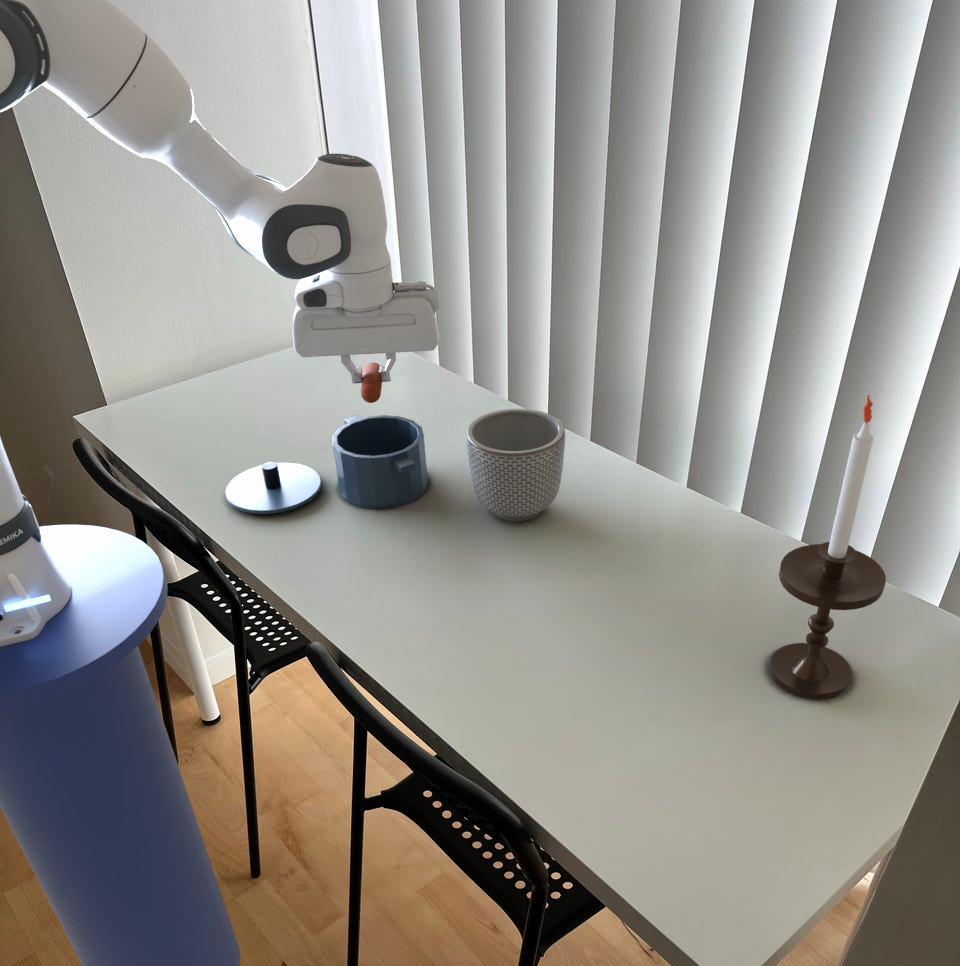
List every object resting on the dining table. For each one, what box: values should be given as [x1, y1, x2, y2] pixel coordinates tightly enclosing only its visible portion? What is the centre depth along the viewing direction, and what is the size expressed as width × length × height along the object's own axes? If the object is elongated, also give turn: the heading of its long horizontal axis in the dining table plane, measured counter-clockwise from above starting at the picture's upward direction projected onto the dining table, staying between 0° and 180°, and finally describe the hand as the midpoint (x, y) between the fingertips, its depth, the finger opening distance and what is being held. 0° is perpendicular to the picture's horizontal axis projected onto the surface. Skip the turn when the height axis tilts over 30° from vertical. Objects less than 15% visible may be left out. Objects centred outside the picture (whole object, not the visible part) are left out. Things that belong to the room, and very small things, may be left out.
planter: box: [465, 408, 566, 523], centre depth 141 cm, size 14×14×13 cm
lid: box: [225, 461, 322, 515], centre depth 150 cm, size 15×15×5 cm
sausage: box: [360, 362, 383, 404], centre depth 141 cm, size 10×3×3 cm
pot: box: [331, 414, 429, 509], centre depth 149 cm, size 14×19×8 cm
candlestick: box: [768, 394, 887, 701], centre depth 103 cm, size 11×11×35 cm
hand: (371, 381), depth 141 cm, fingers closed on sausage, 3 cm apart
